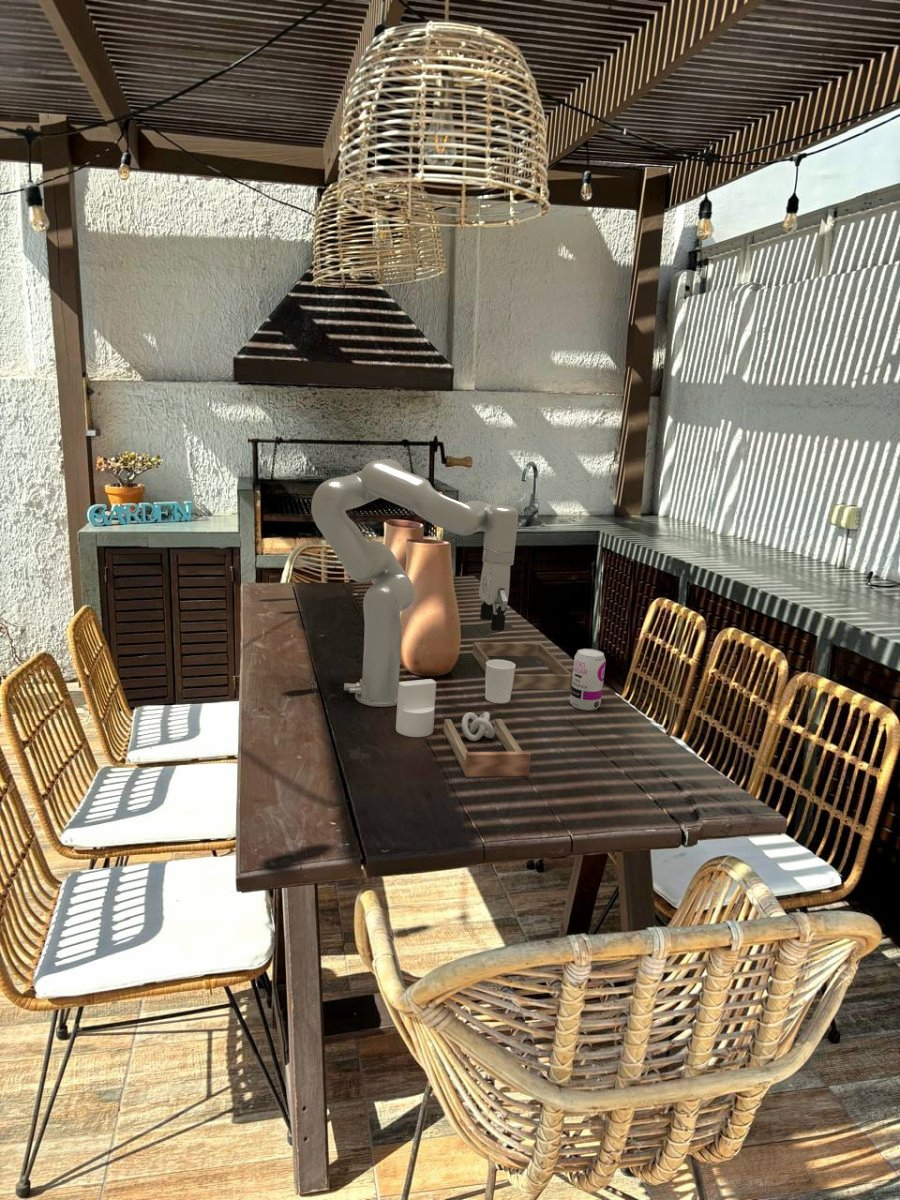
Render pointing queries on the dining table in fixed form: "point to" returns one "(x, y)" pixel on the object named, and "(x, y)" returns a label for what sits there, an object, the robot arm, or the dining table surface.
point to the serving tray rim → (556, 681)
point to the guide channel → (490, 754)
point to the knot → (477, 726)
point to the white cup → (499, 680)
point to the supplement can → (587, 679)
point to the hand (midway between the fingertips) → (491, 624)
